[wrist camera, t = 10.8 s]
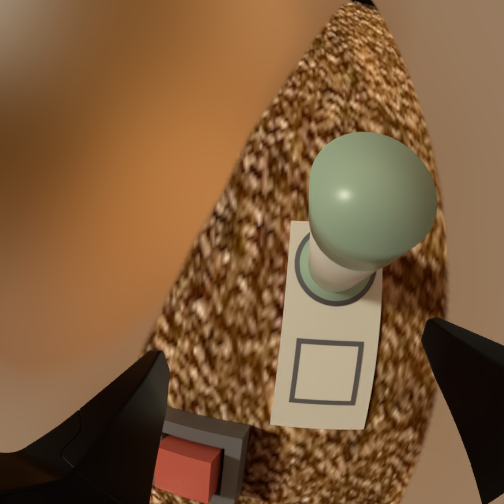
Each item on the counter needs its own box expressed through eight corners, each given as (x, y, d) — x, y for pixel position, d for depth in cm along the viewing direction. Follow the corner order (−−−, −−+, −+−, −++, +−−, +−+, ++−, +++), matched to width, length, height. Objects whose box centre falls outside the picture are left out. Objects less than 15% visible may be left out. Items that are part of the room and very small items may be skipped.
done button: (219, 486, 16) (208, 504, 13) (170, 472, 17) (154, 487, 14) (222, 446, 17) (210, 463, 14) (171, 433, 18) (153, 445, 15)
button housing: (241, 490, 17) (233, 508, 15) (164, 470, 19) (149, 483, 16) (250, 425, 19) (242, 439, 16) (165, 405, 21) (148, 414, 18)
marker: (361, 297, 20) (438, 263, 7) (302, 289, 21) (301, 244, 8) (366, 239, 21) (430, 145, 8) (310, 231, 22) (314, 124, 9)
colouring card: (363, 427, 17) (363, 429, 17) (270, 423, 19) (269, 425, 18) (381, 227, 21) (382, 226, 21) (291, 221, 23) (291, 220, 22)
